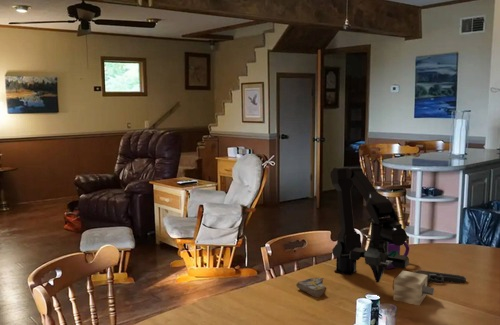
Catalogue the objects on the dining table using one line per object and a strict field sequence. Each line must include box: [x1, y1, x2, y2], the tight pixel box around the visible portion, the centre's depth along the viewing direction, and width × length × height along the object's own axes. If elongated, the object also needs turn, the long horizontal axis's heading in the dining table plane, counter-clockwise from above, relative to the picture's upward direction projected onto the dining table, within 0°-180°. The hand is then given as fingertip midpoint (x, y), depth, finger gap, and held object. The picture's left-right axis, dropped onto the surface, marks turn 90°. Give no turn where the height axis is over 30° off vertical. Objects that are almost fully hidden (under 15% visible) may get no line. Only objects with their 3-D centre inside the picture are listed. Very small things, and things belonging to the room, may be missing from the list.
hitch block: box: [393, 270, 428, 306], centre depth 157 cm, size 8×10×7 cm
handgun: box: [412, 269, 467, 287], centre depth 169 cm, size 3×18×12 cm
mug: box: [369, 239, 410, 270], centre depth 189 cm, size 17×11×10 cm, turn 111°
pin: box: [392, 276, 435, 296], centre depth 156 cm, size 12×4×4 cm, turn 57°
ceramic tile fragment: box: [296, 277, 326, 298], centre depth 163 cm, size 12×3×10 cm
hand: (377, 282), depth 163 cm, fingers closed
